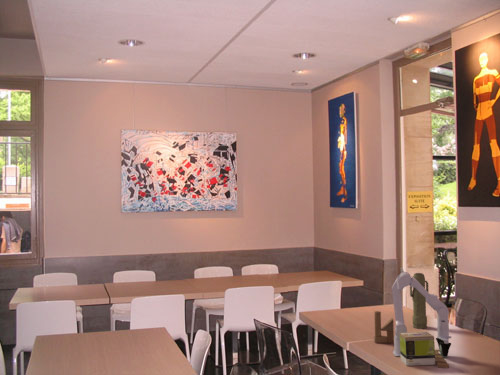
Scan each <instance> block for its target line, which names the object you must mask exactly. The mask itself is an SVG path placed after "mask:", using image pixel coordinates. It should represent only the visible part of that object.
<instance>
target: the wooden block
mask: <svg viewBox="0 0 500 375" xmlns="http://www.w3.org/2000/svg"><path fill="white" fill-rule="evenodd" d="M373 314H374V336H373V337H374V338H373V340H374V343H375V344H394V336H395V328H394V318H393V317H391V318H390V319H389V320H388V321H387V322H386V323H385V324H384V325H383V326H382V318H381V317H382V316H381V315H382V312H381V311H379V310H377V311H376V310H375V311H374V312H373ZM382 332H386V335H382Z"/></svg>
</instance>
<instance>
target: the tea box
mask: <svg viewBox="0 0 500 375" xmlns="http://www.w3.org/2000/svg"><path fill="white" fill-rule="evenodd" d="M435 349H436V347H435V336H434V335H432V334H431V333H429V332H428V331H419V332H418V331H417V332H407V333H400V355H401V356H400V361H401V362H402V363H403V364H404V365H405V366H406V367H410V366H412V367H413V366H434V365H436V364H435Z"/></svg>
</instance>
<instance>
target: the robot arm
mask: <svg viewBox="0 0 500 375" xmlns="http://www.w3.org/2000/svg"><path fill="white" fill-rule="evenodd" d="M408 286H409V288H410V287H412V288H413V287H414V288H416V289H417V290H418V291H419V292H420V293H421V294H422V295H423V296H424V297H425V298H426V304H427V305H429V307H431V308H432V309H433V310H434V311H436V313H437V321H436V325H437V336H436V337H435V340H436V343H437V345H438V349H440V345H441V347H442V353H443V356H447V357H448V356H449V351H450V347H451V346H452V343H451V342H449V340H450V339H452V336H451V335H450V327H449V322H450V321H449V315H450V310H449V308H448V306H447V305H446V304H445V303H444V302H442V301H441V300H440V299H439V297H438V295H435V294H434V293H430V292H428V291H429V290H428V291H427V290H426V287H425V288H424V287H423V286H422V285H421V284H420V283H419V282H418V281H417V280H416V279H415V278H414V277H413V276H412V275H411V274H410V273H409V272H407V271H404V272H403V271H402V272H400V274H399V275H398V276H397V277H396V279H395V281H394V282H393V284H392V286H391V293H392V302H393V311H394V318H395V328H394V343H393V347H394V350H392V353H393V355H394V356H395V357H401V355H400V333H408V329H407V326H406V324H405V317H404V309H403V300H402V294H401V292H402V291H403V289H405V288H406V287H408Z"/></svg>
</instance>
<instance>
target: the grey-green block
mask: <svg viewBox="0 0 500 375" xmlns="http://www.w3.org/2000/svg"><path fill="white" fill-rule="evenodd" d="M435 352H439V353H440V355H441V356H442V357H443V358H444V359H448V356H443V353H442V347H441V345H440V349H439V348H438V349H436V348H435Z"/></svg>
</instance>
